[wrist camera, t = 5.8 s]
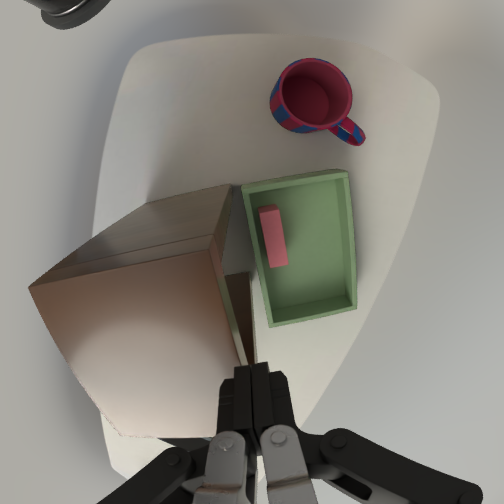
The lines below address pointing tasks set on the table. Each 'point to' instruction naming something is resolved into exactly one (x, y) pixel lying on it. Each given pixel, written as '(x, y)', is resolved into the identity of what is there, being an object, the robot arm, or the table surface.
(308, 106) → the cup
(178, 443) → the smartphone
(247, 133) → the table surface
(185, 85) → the table surface
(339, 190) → the tray
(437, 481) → the robot arm
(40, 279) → the walnut stand
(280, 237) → the eraser
